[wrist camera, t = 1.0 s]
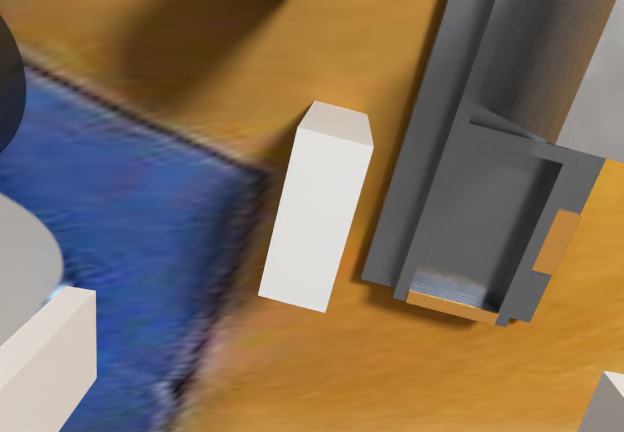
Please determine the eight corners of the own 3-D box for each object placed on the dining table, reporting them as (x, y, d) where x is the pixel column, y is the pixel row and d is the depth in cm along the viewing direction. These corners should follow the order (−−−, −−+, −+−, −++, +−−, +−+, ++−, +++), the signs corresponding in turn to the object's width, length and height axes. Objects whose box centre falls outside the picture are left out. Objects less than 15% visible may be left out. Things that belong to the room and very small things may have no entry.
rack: (360, 272, 41) (363, 374, 28) (476, -98, 32) (556, -187, 19) (524, 315, 41) (599, 434, 28) (687, -41, 32) (904, -93, 19)
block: (284, 223, 40) (257, 295, 29) (314, 100, 36) (297, 127, 25) (332, 235, 40) (324, 312, 29) (367, 114, 36) (373, 147, 25)
